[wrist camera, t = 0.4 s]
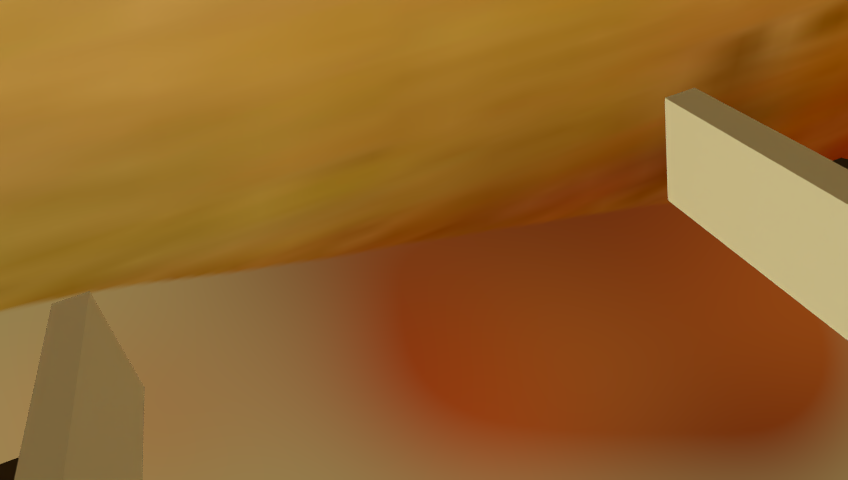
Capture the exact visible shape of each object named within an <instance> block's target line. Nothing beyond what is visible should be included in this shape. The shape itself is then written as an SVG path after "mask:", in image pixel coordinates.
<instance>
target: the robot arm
mask: <svg viewBox="0 0 848 480" xmlns="http://www.w3.org/2000/svg"><path fill="white" fill-rule="evenodd" d="M665 118H666V150H667V183H668V200H669V201H670V202H671V203H672V204H674V205H675V206H676V207H678V208H679V209H680V210H681V211H683V212H684V213H685V214H687V215H688V216H689V217H690V218H692V219H693V220H694V221H696V222H697V223H698V224H700V225H701V226H702V227H703V228H704V229H706V230H707V231H708V232H710V233H711V234H712V235H713V236H715V237H716V238H717V239H719V240H720V241H721V242H722V243H724V244H725V245H726V246H728V247H729V248H730V249H731V250H733V251H734V252H735V253H737V254H738V255H739V256H740V257H742V258H743V259H744V260H746V261H747V262H748V263H749V264H751V265H752V266H753V267H755V268H756V269H757V270H758V271H760V272H761V273H762V274H763V275H765V276H766V277H767V278H769V279H770V280H771V281H773V282H774V283H775V284H776V285H778V286H779V287H780V288H781V289H783V290H784V291H785V292H787V293H788V294H789V295H790V296H792V297H793V298H794V299H795V300H797V301H798V302H799V303H801V304H802V305H803V306H804V307H806V308H807V309H808V310H810V311H811V312H812V313H813V314H815V315H816V316H817V317H819V318H820V319H821V320H822V321H824V322H825V323H826V324H827V325H829V326H830V327H831V328H833V329H834V330H835V331H837V332H838V333H839V334H840V335H842V336H843V337H844V338H845V339H847V340H848V159H844V158H839V159H837V160H834V161H831V160H829V159H827V158H826V157H824V156H822V155H820V154H818V153H816V152H814V151H812V150H810V149H809V148H807V147H805V146H803V145H801V144H799V143H797V142H795V141H794V140H792V139H790V138H788V137H786V136H784V135H782V134H780V133H779V132H777V131H775V130H773V129H771V128H769V127H767V126H765V125H763V124H762V123H760V122H758V121H756V120H754V119H752V118H750V117H748V116H747V115H745V114H743V113H741V112H739V111H737V110H735V109H733V108H732V107H730V106H728V105H726V104H724V103H722V102H720V101H718V100H716V99H715V98H713V97H711V96H709V95H707V94H705V93H703V92H701V91H700V90H698V89H696V88H693V89H690V90H687V91H684V92H681V93H678V94H675V95H672V96H669V97H666V98H665ZM143 426H144V386H143V384H142V382H141V380H140V379H139V377H138V375H137V373H136V372H135V370H134V368H133V367H132V365H131V363H130V361H129V359H128V358H127V356H126V354H125V352H124V351H123V349H122V347H121V345H120V344H119V342H118V340H117V338H116V337H115V335H114V333H113V331H112V330H111V328H110V326H109V324H108V323H107V321H106V319H105V317H104V315H103V314H102V312H101V310H100V308H99V307H98V305H97V303H96V301H95V300H94V298H93V296H92V294H91V293H90V291H89V292H86V293H83V294H80V295H77V296H74V297H71V298H68V299H65V300H62V301H59V302H56V303H53V304H52V306H51V310H50V315H49V319H48V324H47V329H46V334H45V338H44V343H43V348H42V352H41V357H40V362H39V366H38V371H37V375H36V380H35V385H34V389H33V394H32V399H31V404H30V408H29V413H28V417H27V422H26V427H25V431H24V436H23V441H22V445H21V450H20V455H19V458H16V459H13V460H11V461H8V462H5V463H3V464H0V480H142V467H143Z"/></svg>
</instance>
